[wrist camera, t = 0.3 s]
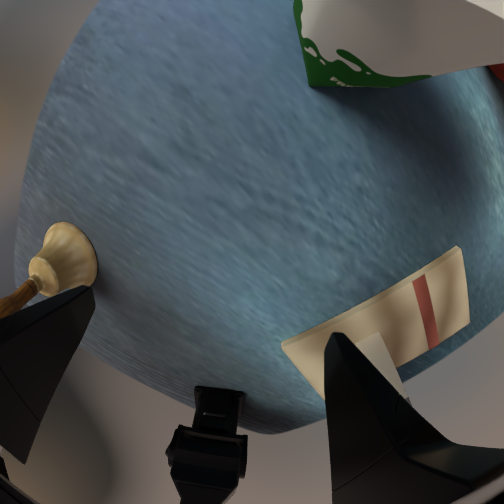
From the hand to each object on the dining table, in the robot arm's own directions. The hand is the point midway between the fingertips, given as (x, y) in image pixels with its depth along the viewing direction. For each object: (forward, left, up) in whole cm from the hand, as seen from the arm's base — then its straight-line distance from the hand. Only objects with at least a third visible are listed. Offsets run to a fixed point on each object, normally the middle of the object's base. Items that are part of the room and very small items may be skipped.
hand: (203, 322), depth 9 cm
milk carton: (+15, -7, -16) cm, 23 cm away
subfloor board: (-12, -18, -15) cm, 26 cm away
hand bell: (-7, +19, -16) cm, 26 cm away
